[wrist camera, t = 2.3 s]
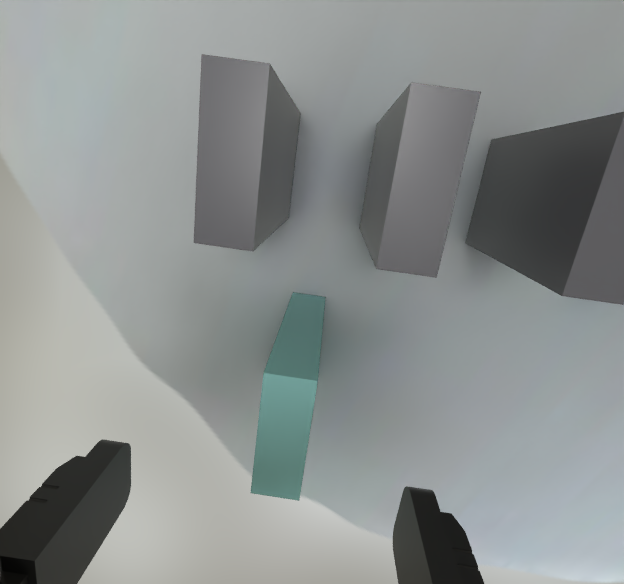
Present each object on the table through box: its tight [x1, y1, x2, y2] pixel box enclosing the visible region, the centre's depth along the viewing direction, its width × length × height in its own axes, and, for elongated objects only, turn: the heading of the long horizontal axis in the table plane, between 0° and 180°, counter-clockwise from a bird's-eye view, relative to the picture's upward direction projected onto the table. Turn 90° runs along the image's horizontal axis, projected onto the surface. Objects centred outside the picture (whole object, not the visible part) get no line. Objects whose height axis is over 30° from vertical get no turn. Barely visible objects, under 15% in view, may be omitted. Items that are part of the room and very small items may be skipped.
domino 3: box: [359, 82, 481, 278], centre depth 15 cm, size 2×5×9 cm, turn 172°
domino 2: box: [251, 292, 325, 500], centre depth 18 cm, size 2×5×9 cm, turn 172°
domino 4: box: [465, 112, 624, 305], centre depth 15 cm, size 2×5×9 cm, turn 172°
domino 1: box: [194, 54, 301, 251], centre depth 15 cm, size 2×5×9 cm, turn 172°
